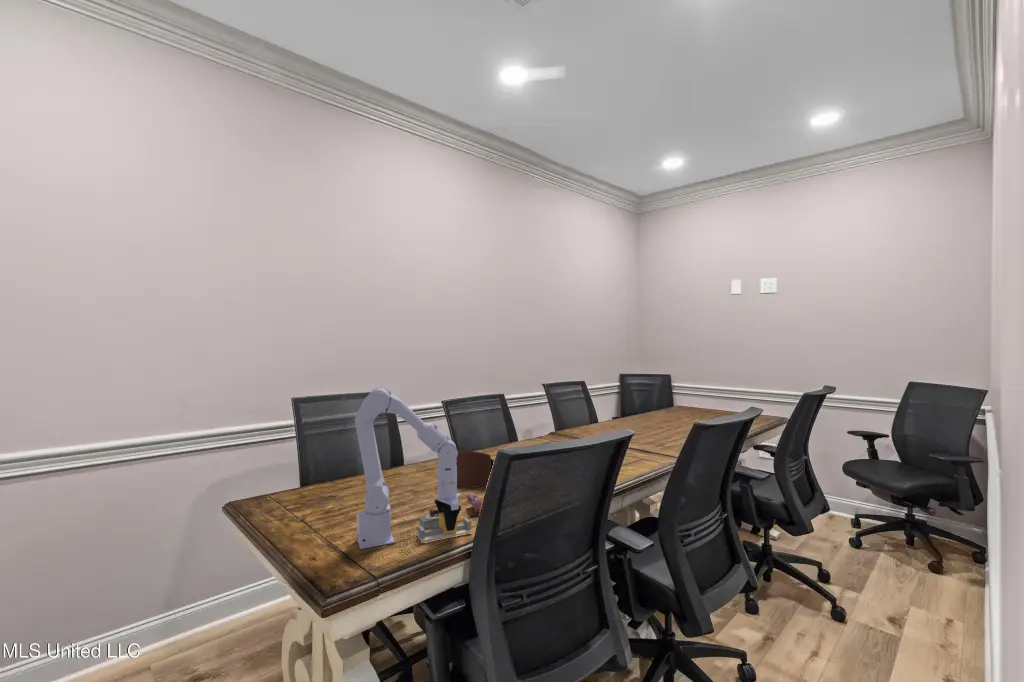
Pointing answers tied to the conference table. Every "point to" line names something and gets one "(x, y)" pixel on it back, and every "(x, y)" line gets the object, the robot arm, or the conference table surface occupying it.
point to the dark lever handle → (433, 512)
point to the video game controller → (474, 501)
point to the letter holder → (473, 468)
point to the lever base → (429, 521)
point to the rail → (438, 532)
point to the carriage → (443, 524)
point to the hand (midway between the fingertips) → (447, 526)
